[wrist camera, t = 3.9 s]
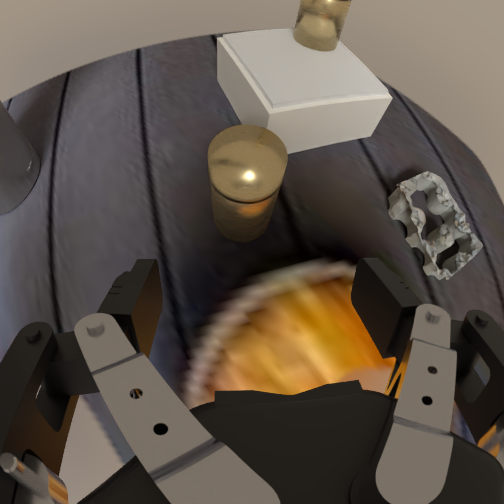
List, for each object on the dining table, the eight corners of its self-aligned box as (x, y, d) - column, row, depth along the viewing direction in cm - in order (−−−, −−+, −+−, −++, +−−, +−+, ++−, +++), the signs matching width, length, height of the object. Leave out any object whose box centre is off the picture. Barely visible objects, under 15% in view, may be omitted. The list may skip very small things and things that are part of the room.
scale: (261, 161, 29) (270, 109, 22) (215, 78, 33) (215, 31, 26) (370, 136, 31) (394, 94, 25) (312, 64, 35) (322, 24, 29)
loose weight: (224, 251, 25) (222, 197, 17) (205, 201, 27) (197, 135, 18) (279, 231, 26) (302, 173, 18) (257, 184, 28) (268, 117, 19)
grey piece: (376, 199, 29) (393, 178, 25) (419, 181, 30) (437, 161, 26) (428, 290, 26) (453, 279, 22) (466, 259, 27) (489, 247, 23)
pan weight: (306, 52, 25) (324, -19, 17) (285, 31, 27) (297, -34, 18) (345, 51, 26) (367, -12, 18) (322, 30, 28) (338, -29, 19)
